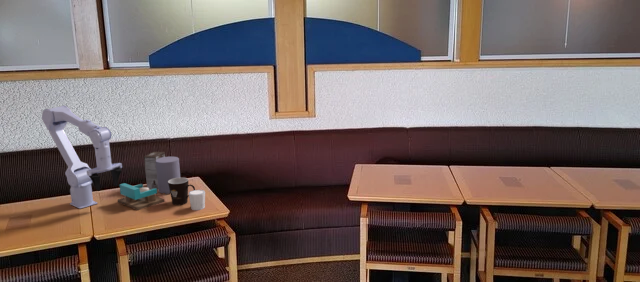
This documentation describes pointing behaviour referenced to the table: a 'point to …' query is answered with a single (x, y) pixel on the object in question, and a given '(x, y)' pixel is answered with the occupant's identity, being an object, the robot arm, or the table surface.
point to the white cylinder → (197, 199)
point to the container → (166, 172)
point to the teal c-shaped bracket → (135, 191)
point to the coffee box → (152, 169)
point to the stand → (141, 200)
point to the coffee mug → (179, 190)
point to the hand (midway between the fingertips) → (107, 187)
